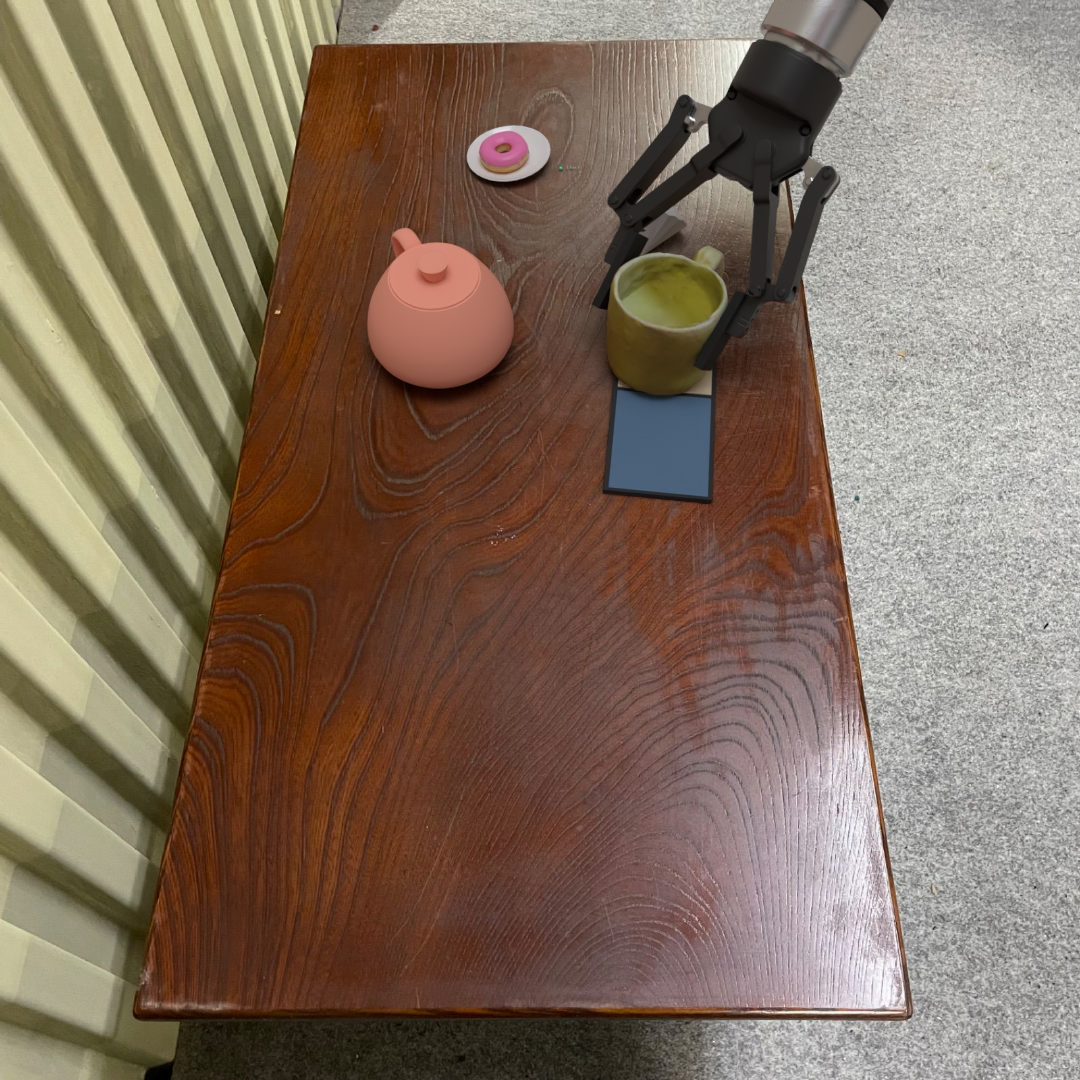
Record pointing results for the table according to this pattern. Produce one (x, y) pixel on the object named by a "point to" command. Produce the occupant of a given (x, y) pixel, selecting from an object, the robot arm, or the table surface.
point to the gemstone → (662, 228)
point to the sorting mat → (661, 445)
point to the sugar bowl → (438, 315)
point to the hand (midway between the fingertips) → (650, 337)
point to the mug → (664, 319)
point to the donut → (508, 153)
